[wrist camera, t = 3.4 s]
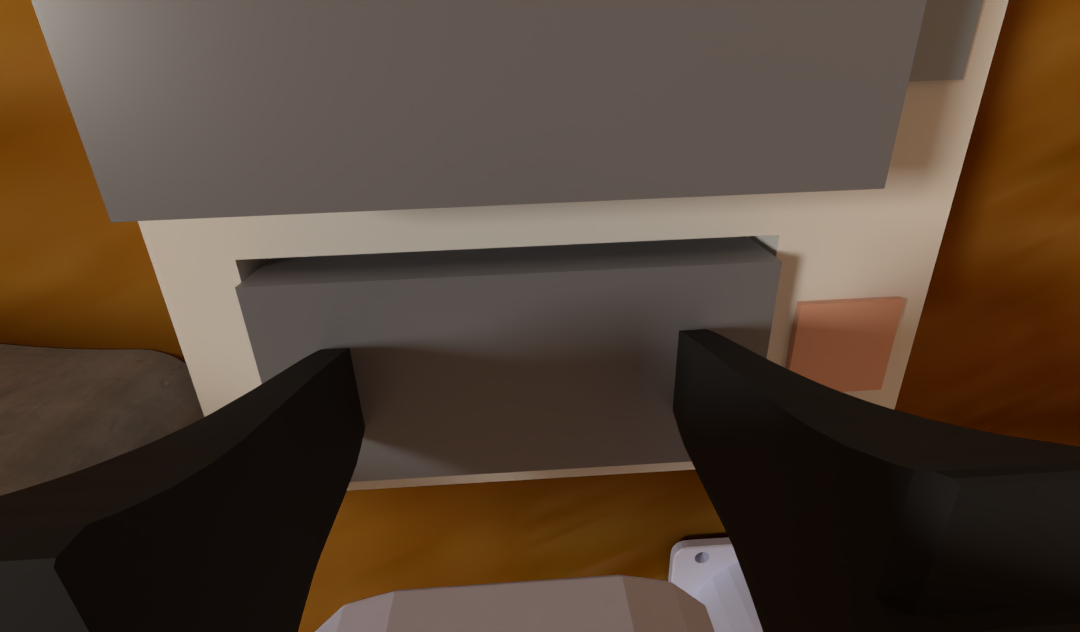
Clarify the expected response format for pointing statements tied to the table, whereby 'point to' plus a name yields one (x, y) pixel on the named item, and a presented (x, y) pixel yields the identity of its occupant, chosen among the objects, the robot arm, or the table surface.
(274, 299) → the button
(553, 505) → the table surface
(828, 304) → the switch unit
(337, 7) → the button middle
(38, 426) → the hip flask
